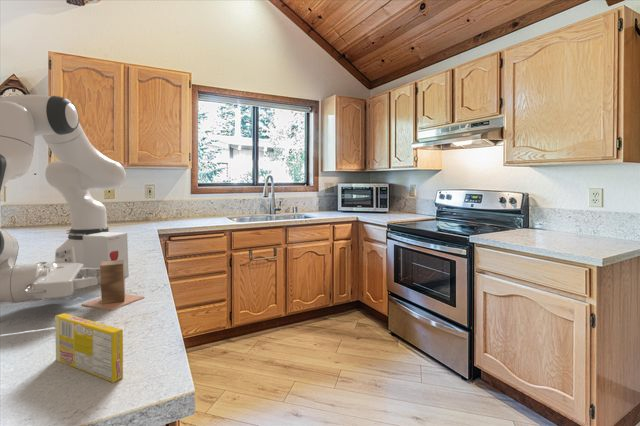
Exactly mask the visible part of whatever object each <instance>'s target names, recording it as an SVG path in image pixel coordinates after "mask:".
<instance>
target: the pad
mask: <svg viewBox="0 0 640 426" xmlns="http://www.w3.org/2000/svg"><path fill="white" fill-rule="evenodd" d="M144 298H145V296H141V295H134V294H127V293H125V301H124V302H119V303H111V304H103V305H102V298H101V297H99V298H96V299H93V300H91V301H88V302H85V303H82V304H81V306H84V307H89V308H95V309H101V310H108V311H114V310H117V309H119V308H121V307H125V306H127V305H130V304H133V303H135V302H137V301H140V300H143V299H144Z"/></svg>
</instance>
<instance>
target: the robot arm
mask: <svg viewBox="0 0 640 426" xmlns="http://www.w3.org/2000/svg"><path fill="white" fill-rule="evenodd" d="M79 116H80V115H79V111H78V109H77V107H76V105H75V104H74V103H73V102H72V101H71V100H70V99H68V98H66V97H64V96H59V95H51V96H48V95H43V94H30V93H29V94H20V95H19V94H15V95H4V94H1V95H0V200H1V199H2V194H3V189H4V187H5V185H6V183H7V182H8V181H11V180H16V179H19V178H22V177H23V176H25V175H26V174H27V173H28V172H29V169H30V167H31V164H32V162H33V158H34V157H33V156H34V150H35V137H36V136H37V137H38V136H41V137H42V138H43V139H44V141H45V143H46V144H47V146H48V147H49V149H50V151H51V153H52V154H53V156H55V158H56V159H57V160H55V161H51V162H50V163H49V164H47V167H46V168H45V173H44V175H45V180H46V181H47V183H48V185H50V186H51V187H52V188H54V189H55V190H57V191H58V192H59V193H60V194H61V196H62V197H63V198H64V200H65V202H66V203H67V206H68V209H69V216H70V227H71V228H69V230H66V235H68V236H67V240H66V241H65V242H64V243H62V244H61V245H60V246H59V247H57V248H56V250H55V252H54V261H51V262H48V261H41V262H37V263H26V264H16V262H17V259H18V255H19V251H20V250H19V241H18V240H17V238H15V236H14V235H12V234H11V233H9V232H7V231H5V230H4V229H2V228H0V304H2V303H4V304H5V303H9V304H18V303H27V302H28V303H29V302H36V301H42V300H43V299H55V298H59V297H66V296H70V295H72V294H73V293H75V290H76V289H77V290H80V289H83V288H86V287H90V286H97V285H98V284H99V283H98V277H90V278H84V277H87V276H100V268H95V269H94V268H84V259H83V235H89V234H95V233H101V232H110V230H109V226H108V222H107V221H108V219H107V218H108V216H107V208H106V206H105V205H104V204H103V202H101V201H99V200H97V199H94V197H93V196H92V195H91V193H90V191H110V190H115V189H120V188H122V187H123V185H124V184H125V182H126V179H127V173H126V170H125V168H124V166H123V165H122V164H121V163H120V162H118V161H115V160H113V159H111V158H109V157H107V156H106V155H104V154H103V153H101V151H99V150H98V149H97V148H95V147H94V145H93V144H92V143H91V141H90V140H89V138H88V136H87V135H86V133H85V131H84V129H83V128H82V127H83V126H81V124H80V117H79Z"/></svg>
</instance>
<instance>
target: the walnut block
mask: <svg viewBox="0 0 640 426" xmlns="http://www.w3.org/2000/svg"><path fill="white" fill-rule="evenodd" d="M100 277H101V283H100V293H101V294H100V295H101V296H100V298H102V305H103V304H111V303H119V302H124V301H125V294H126V281H125V279H126V278H125V275H124V260H116V261H103V262H102V263H101V265H100Z"/></svg>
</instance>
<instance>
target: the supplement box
mask: <svg viewBox="0 0 640 426" xmlns="http://www.w3.org/2000/svg"><path fill="white" fill-rule="evenodd" d="M128 246H129V245H128V232H117V231H116V232H113V231H109V232H101V233H95V234H89V235H83V259H84V268H94V269H95V268H100V265H101V263H102V262H103V261H116V260H124V275H125V279H126V278H129V252H128V251H129V247H128ZM90 277H98V284H101V277H100V276H87V277H83V279H84V278H90Z"/></svg>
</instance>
